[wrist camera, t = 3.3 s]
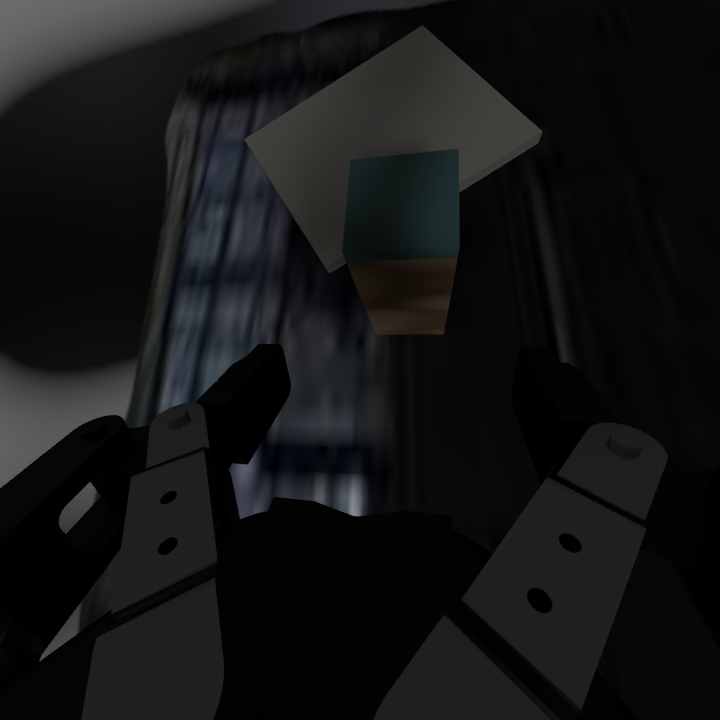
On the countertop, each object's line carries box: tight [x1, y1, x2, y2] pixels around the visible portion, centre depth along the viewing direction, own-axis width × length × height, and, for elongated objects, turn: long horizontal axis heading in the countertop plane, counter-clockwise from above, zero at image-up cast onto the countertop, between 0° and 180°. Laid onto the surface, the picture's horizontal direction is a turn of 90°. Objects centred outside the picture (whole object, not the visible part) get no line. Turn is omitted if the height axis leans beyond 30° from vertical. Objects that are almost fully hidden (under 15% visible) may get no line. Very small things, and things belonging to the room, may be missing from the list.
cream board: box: [244, 25, 542, 274], centre depth 29 cm, size 20×17×1 cm
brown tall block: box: [342, 149, 460, 334], centre depth 20 cm, size 5×5×11 cm
